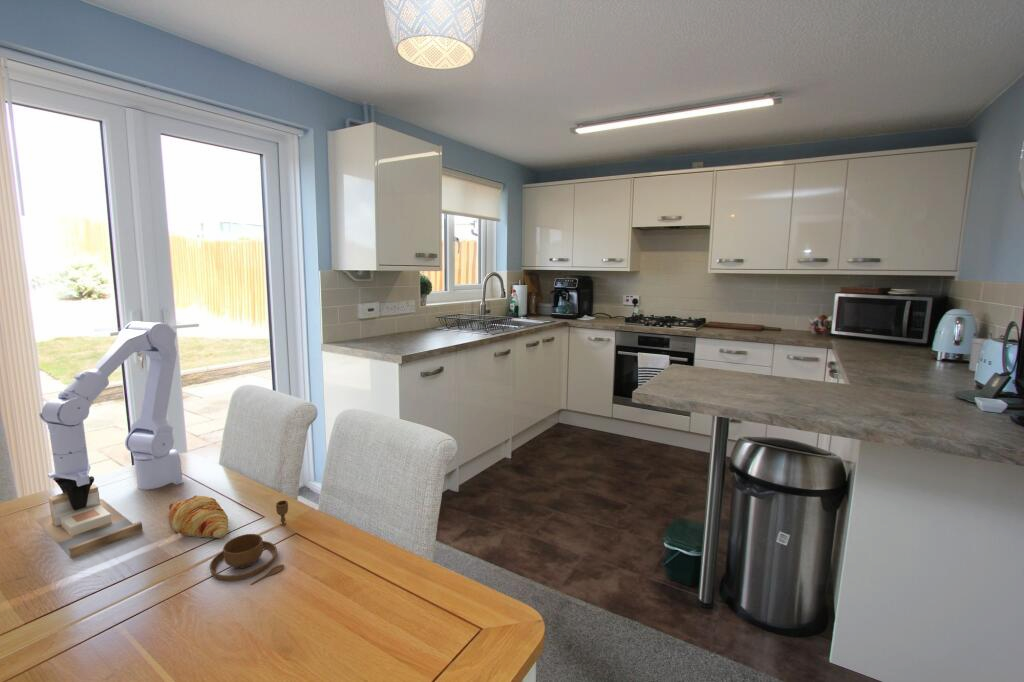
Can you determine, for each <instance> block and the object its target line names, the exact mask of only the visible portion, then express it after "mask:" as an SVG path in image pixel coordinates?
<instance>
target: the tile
mask: <svg viewBox="0 0 1024 682" xmlns="http://www.w3.org/2000/svg"><path fill="white" fill-rule="evenodd" d="M60 520H61V526H62V527H63V528H64V529H65V530H66V531H67V532H68V533H69V534H70V535H71V536H73V535H76V534H79V533H82V532H85V531H88V530H90V529H93V528H96V527H99V526H102V525H105V524H108V523H111V522H112V519H111V514H110V513H109V512H108V511H107V510H106V509H104V508H103V507H102V506H101V505H98V506H94V507H91V508H88V509H85V510H82V511H79V512H76V513H73V514H69V515H66V516H63V517H60Z"/></svg>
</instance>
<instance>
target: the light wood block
mask: <svg viewBox="0 0 1024 682" xmlns="http://www.w3.org/2000/svg"><path fill="white" fill-rule="evenodd" d="M100 499H101V497H100V491H99V487H98V485H96V484H94V483H92V485H91V487H90V490H89V494H88V500H87V505H86V507H85V508H82V509H79V510H74V509H73V508H72V506H71V503H70V500H69V497H68V495H67V493H66V492H65V493H63V492H62V493H58V494H55V495H51V496H49V497H48V504H49V510H50V515H51V518H52V522H53V524H54V525H55V526H58V525H61V520H60V517H63V516H66V515H69V514H73V513H76V512H79V511H82V510H85V509H88V508H91V507H94V506H98V505H100Z"/></svg>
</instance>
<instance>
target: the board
mask: <svg viewBox="0 0 1024 682" xmlns="http://www.w3.org/2000/svg"><path fill="white" fill-rule="evenodd" d="M100 505H101V506H102V507H103V508H104V509H106V510H107V511H108V512H109V513H110V514H111V519H112V522H111V523H108V524H105V525H102V526H99V527H96V528H93V529H90V530H88V531H85V532H82V533H79V534H76V535H73V536H71V535H70V534H69V533H68V532H67V531H66V530H65V529H64V528H63V527H62V526H61V525H58V526H55V525H54V524H53V522H52V518H51V514H49V515H45V516H43V517H39V518H36V519H35V520H36V522H38V524H39V525H40V526H41V527H42V528H43V529H44V530H45V531H46V532H47V534H48V535H49V536H50V537H51V538H52V539H53V540H54V541H55V542H56V544H58V545H59V547H60V548H61V549H62V550H63V551H64V552H65V554H67V555H68V556H69V558H70V559H74V558H77V557H79V556H81V555H84V554H89V553H90V552H92V551H95V550H99V549H100V548H103V547H106V546H108V545H111V544H113V543H114V544H115V543H116V542H119V541H123V540H124V539H127V538H131V537H132V536H134V535H135V536H136V535H138V534H140V533H143V532H144V528H143V522H141V521H138V522H135V523H133V522H132V521H130V519H128V518H127V517H126V516H124V515H123V514H122V513H121V512H119V511H118V510H117V509H116V508H114V507H113V506H112V505H111V504H109V503H108V502H106V501H105V500H104V499H103V498H100Z"/></svg>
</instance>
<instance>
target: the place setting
mask: <svg viewBox="0 0 1024 682" xmlns="http://www.w3.org/2000/svg"><path fill="white" fill-rule="evenodd" d="M275 507H276V514H277V515H279V516H280V521H279V522H280V523H281V524H280V526H281V527H285V526H286V525H287V523H286V521H287V520H286V518H285V516H286V514H287V513H288V511H289V503H288V500H285V499H284V500H278V501H277V502H276V503H275ZM222 548H223V549H222V551H220V552H219V553H218V554H216V555H215V556H214V557H213V558H212V560H211V561H210V563H209V571H210V573H211V575H212V576H213V577H214V578H216V579H217V580H221V581H225V582H232V581H233V582H235V581H240V580H245V579H248V578H251V577H253V576H257V575H258V574H260V573H262V572H264V571H266V570H267V569H268V568H269V567H270V566H271V565H272V564H273V563H274V562H275V560H276V559H277V555H278V548H277V546H276V545H275V544H274V543H272V542H270V541H266V540H264V539H263V537H262V536H261V535H259V534H257V533H246V534H242V535H238V536H236V537H233V538H232V539H231V538H230V540H228V541H227V542H226V543H225V544H224V545H223V547H222ZM263 550H266V551H268V552H269V553H271V556H272V557H271V559H270V560H269V561H267V562H266V563H264V564H263V565H262V566H259V567H258V568H256V569H253V570H251V571H248V572H244V573H239V574H231V575H230V574H229V575H226V574H220V573H217V571H216V569H217V567H218V565H220V563H221V562H222V561H223V560H224V561H225V563H226V565H228V566H230V567H233V568H236V569H246V568H248V567H250V566H252V565H253V564H254V563H256V561H257V560H259V559H260V558H261V557H262V555H263ZM284 567H285V565H284V564H283V563H282V564H280V565H279V564H278V565H276V566H274V567H272V568H271V569H270V570H269V571H268V572H267V573H266V574H265V575H263V576H262V577H260V578H258V579H256V580H255V581H253V582H251V583H250V584H249V585H250V586H253V585H255V584H257V583H259V582H261V580H263V579H265V578H267V577H269V576H274V575H276V574H279V572H281V571H282V570H283V568H284Z"/></svg>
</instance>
